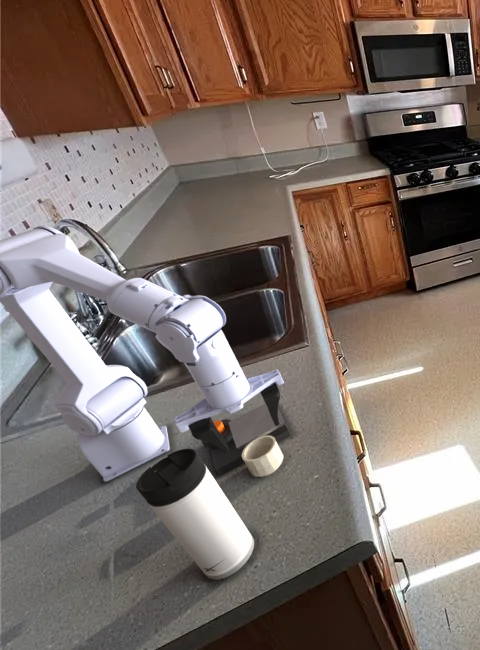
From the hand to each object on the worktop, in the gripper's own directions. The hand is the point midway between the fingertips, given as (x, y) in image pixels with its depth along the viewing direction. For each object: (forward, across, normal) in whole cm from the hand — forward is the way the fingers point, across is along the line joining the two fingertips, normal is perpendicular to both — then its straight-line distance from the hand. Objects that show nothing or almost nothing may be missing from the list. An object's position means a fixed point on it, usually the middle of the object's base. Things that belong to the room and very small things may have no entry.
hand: (251, 435), depth 69 cm
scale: (+8, -1, +9) cm, 12 cm away
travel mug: (+8, -8, -13) cm, 17 cm away
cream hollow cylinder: (+8, 0, 0) cm, 8 cm away
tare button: (+5, -5, +12) cm, 14 cm away
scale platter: (+5, +1, +8) cm, 9 cm away
